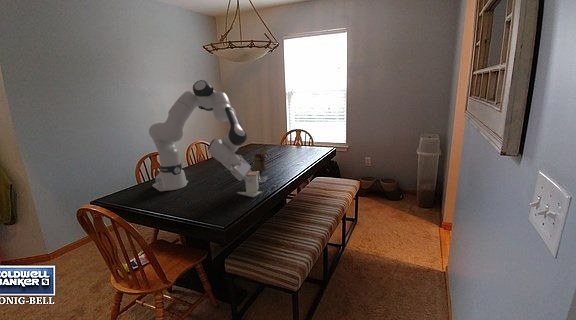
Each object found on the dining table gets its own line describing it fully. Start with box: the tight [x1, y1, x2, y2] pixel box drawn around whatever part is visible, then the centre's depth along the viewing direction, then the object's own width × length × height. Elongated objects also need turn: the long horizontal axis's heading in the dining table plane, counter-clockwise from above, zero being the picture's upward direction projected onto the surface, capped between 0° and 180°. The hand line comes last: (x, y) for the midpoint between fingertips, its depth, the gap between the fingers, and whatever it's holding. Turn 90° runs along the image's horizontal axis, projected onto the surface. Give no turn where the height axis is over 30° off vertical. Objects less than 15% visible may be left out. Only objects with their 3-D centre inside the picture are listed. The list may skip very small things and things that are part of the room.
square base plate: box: [256, 170, 268, 183], centre depth 173 cm, size 11×11×6 cm
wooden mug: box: [252, 146, 268, 172], centre depth 193 cm, size 9×14×18 cm, turn 39°
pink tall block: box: [244, 170, 260, 193], centre depth 155 cm, size 6×6×10 cm
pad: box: [236, 190, 267, 198], centre depth 156 cm, size 12×12×1 cm
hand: (252, 179), depth 155 cm, fingers open, 8 cm apart
